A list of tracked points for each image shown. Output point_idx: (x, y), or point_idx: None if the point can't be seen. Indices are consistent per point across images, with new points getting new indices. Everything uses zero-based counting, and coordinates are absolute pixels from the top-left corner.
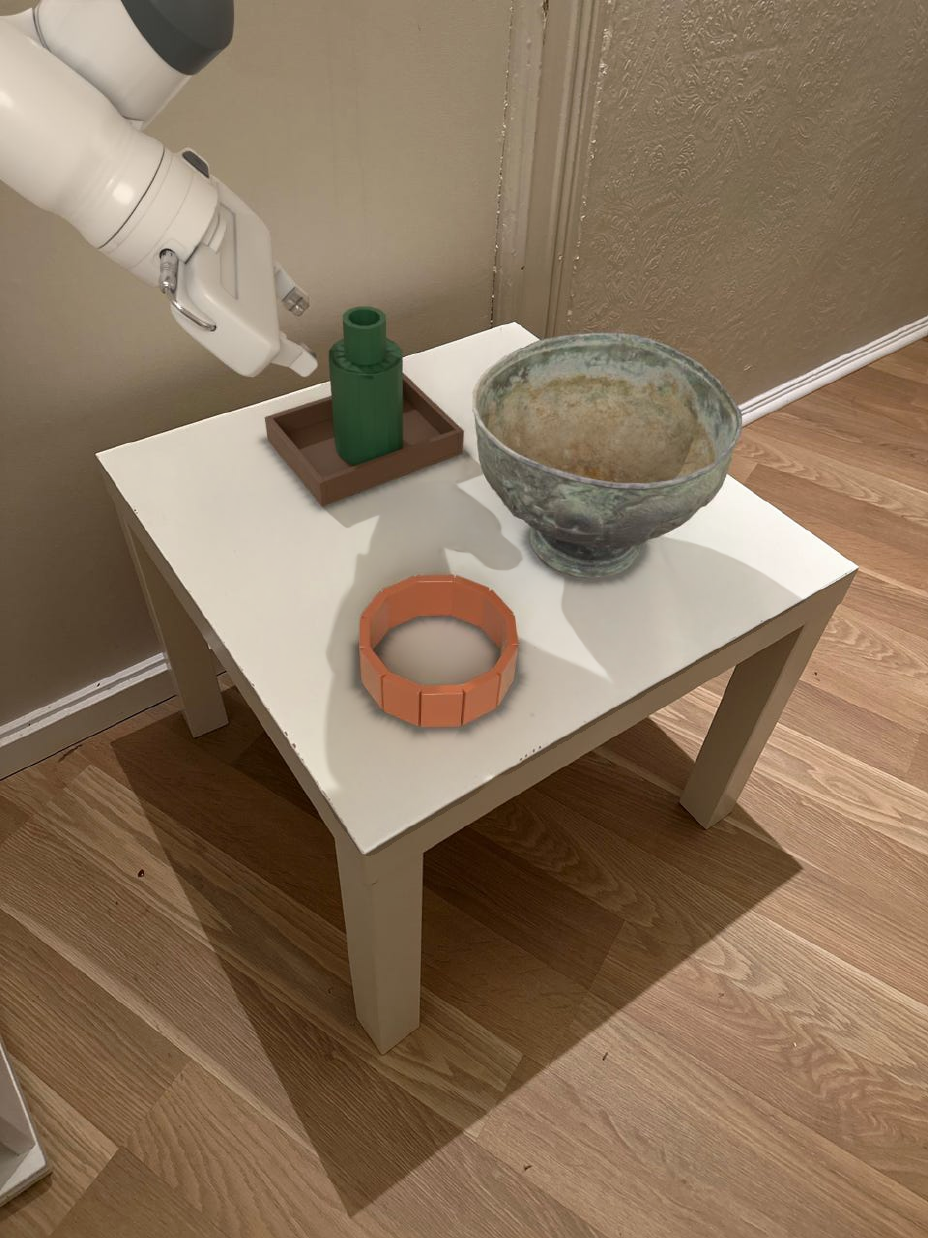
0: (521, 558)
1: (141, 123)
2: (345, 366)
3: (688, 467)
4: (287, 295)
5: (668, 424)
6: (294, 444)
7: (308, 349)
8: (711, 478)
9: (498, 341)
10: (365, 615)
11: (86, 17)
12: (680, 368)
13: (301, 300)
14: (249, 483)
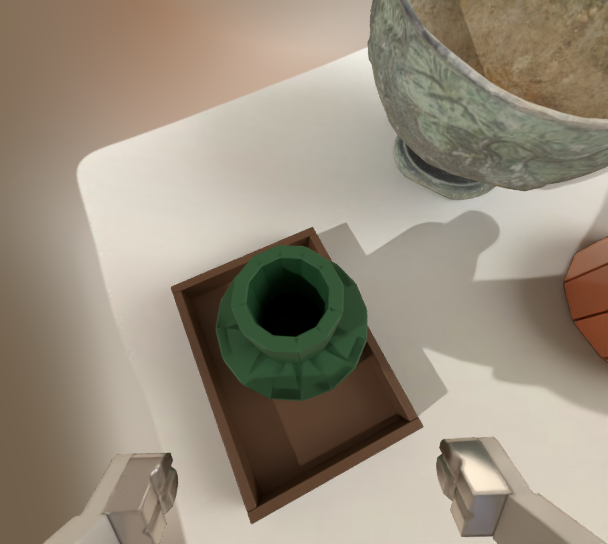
0: (479, 211)
1: None
2: (337, 364)
3: (472, 13)
4: (122, 537)
5: (423, 2)
6: (330, 466)
7: (476, 467)
8: None
9: (98, 176)
10: None
11: None
12: None
13: (157, 481)
14: (359, 540)
